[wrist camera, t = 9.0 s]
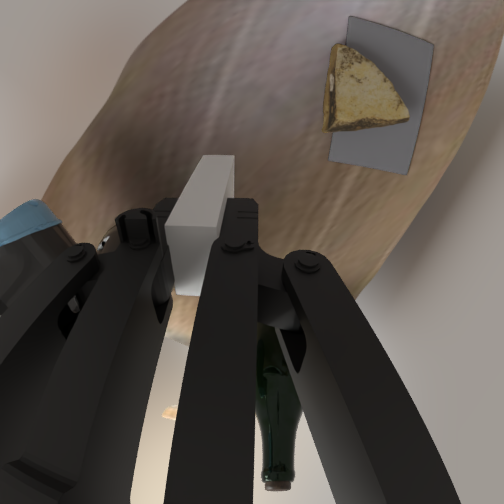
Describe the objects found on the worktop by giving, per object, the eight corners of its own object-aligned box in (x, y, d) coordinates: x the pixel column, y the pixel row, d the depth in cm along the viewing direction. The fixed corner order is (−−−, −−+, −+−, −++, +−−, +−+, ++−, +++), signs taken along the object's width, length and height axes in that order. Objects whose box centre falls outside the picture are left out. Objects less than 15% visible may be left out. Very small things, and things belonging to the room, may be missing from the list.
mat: (327, 160, 36) (328, 160, 36) (348, 16, 24) (349, 16, 24) (405, 174, 36) (406, 175, 36) (432, 44, 24) (433, 44, 24)
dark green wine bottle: (244, 321, 56) (230, 491, 30) (256, 284, 50) (245, 486, 24) (295, 330, 57) (301, 493, 31) (314, 295, 51) (332, 485, 25)
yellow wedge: (362, 26, 22) (395, 98, 22) (387, 57, 28) (414, 122, 28) (287, 63, 30) (307, 131, 30) (323, 84, 36) (341, 145, 36)
